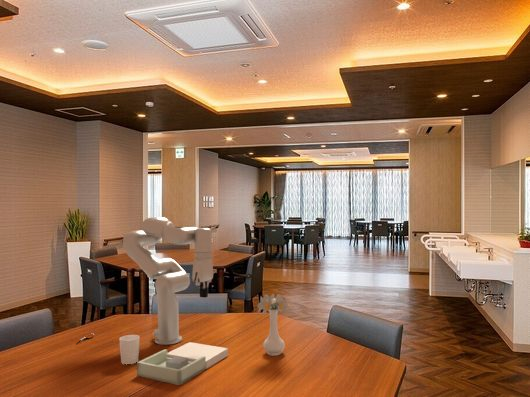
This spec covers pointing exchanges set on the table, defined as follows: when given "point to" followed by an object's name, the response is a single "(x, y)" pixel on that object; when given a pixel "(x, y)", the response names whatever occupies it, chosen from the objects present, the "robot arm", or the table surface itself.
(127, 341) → the white cup
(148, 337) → the table surface
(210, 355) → the plate
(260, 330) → the table surface
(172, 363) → the grey square block
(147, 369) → the box
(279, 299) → the flower vase
